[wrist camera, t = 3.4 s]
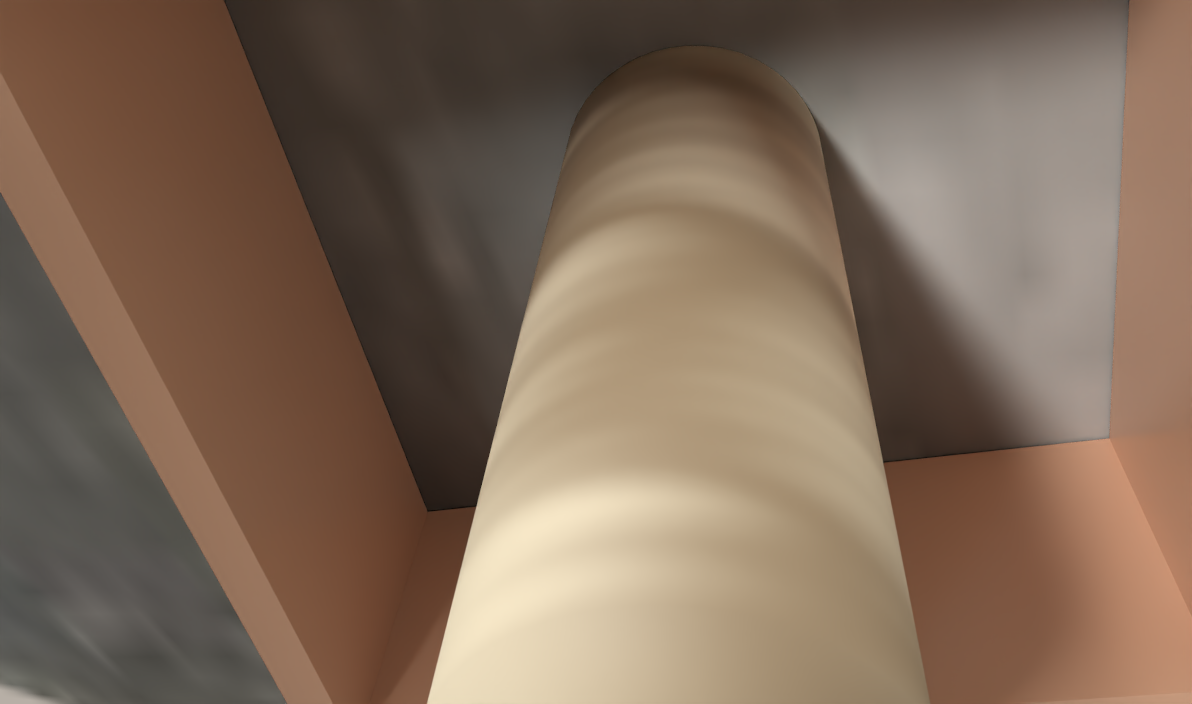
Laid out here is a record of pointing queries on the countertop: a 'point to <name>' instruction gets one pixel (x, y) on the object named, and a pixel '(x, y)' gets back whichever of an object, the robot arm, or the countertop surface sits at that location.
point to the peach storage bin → (439, 538)
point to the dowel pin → (686, 426)
